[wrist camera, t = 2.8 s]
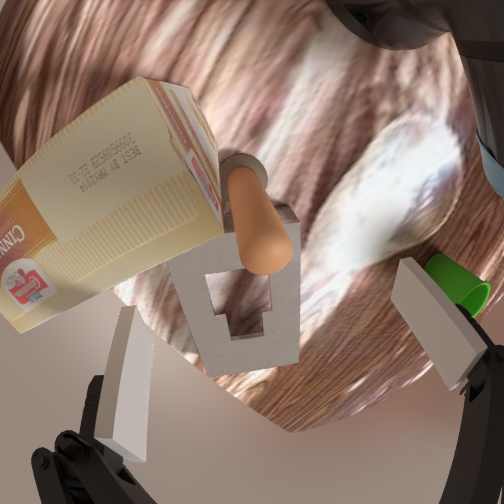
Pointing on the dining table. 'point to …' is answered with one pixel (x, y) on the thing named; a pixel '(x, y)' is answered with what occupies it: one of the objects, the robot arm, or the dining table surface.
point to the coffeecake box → (108, 200)
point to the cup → (458, 283)
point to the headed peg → (254, 216)
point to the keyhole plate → (216, 326)
